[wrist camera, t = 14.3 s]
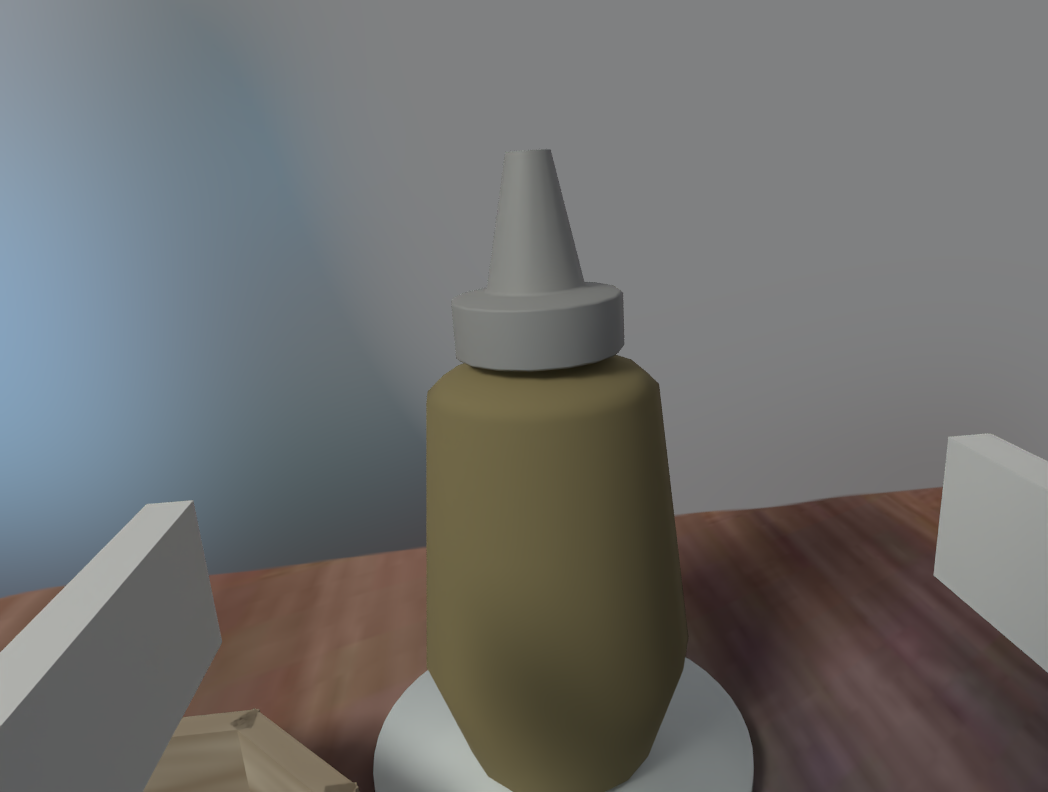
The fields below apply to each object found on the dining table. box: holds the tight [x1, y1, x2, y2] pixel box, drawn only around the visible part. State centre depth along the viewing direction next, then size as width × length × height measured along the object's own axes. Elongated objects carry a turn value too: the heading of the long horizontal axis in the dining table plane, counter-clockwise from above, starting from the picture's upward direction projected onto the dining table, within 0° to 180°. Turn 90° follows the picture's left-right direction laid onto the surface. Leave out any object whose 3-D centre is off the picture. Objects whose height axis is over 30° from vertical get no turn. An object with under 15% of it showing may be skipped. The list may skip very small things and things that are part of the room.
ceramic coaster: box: [373, 657, 754, 792], centre depth 24 cm, size 12×12×1 cm
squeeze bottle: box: [427, 150, 688, 792], centre depth 22 cm, size 8×8×18 cm
